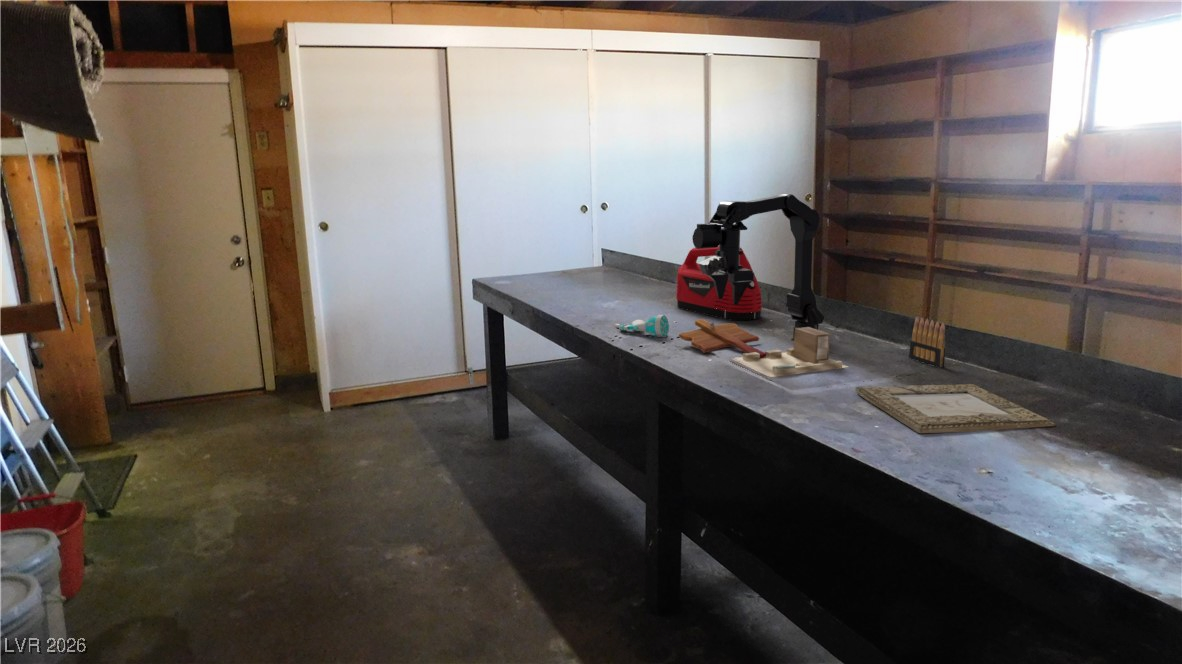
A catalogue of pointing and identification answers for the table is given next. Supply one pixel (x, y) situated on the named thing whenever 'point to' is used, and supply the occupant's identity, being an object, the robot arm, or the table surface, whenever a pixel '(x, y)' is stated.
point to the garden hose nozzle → (649, 326)
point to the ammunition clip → (928, 343)
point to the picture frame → (950, 408)
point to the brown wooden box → (811, 345)
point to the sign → (720, 337)
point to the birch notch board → (783, 363)
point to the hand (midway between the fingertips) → (727, 301)
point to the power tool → (704, 291)
